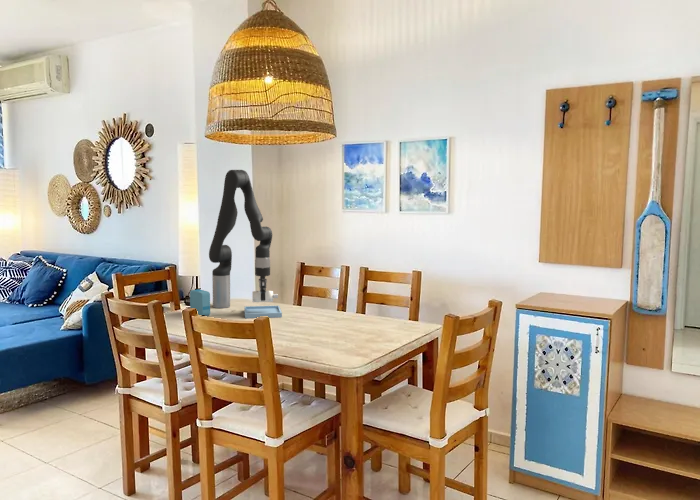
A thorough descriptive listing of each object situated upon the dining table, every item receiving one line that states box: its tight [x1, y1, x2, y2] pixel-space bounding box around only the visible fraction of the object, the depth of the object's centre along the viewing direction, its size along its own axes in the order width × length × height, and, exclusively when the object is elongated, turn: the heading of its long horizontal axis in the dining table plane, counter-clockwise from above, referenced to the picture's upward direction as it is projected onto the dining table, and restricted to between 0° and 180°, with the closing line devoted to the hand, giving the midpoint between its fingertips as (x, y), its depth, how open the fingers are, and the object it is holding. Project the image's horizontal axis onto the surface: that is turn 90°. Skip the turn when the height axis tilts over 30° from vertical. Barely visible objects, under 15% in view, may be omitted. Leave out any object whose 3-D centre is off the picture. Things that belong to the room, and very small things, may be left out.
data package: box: [189, 288, 211, 317], centre depth 273 cm, size 12×4×12 cm, turn 45°
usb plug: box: [251, 290, 279, 303], centre depth 276 cm, size 13×4×5 cm, turn 102°
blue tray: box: [243, 305, 283, 319], centre depth 277 cm, size 18×18×2 cm
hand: (262, 299), depth 276 cm, fingers closed on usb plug, 4 cm apart
